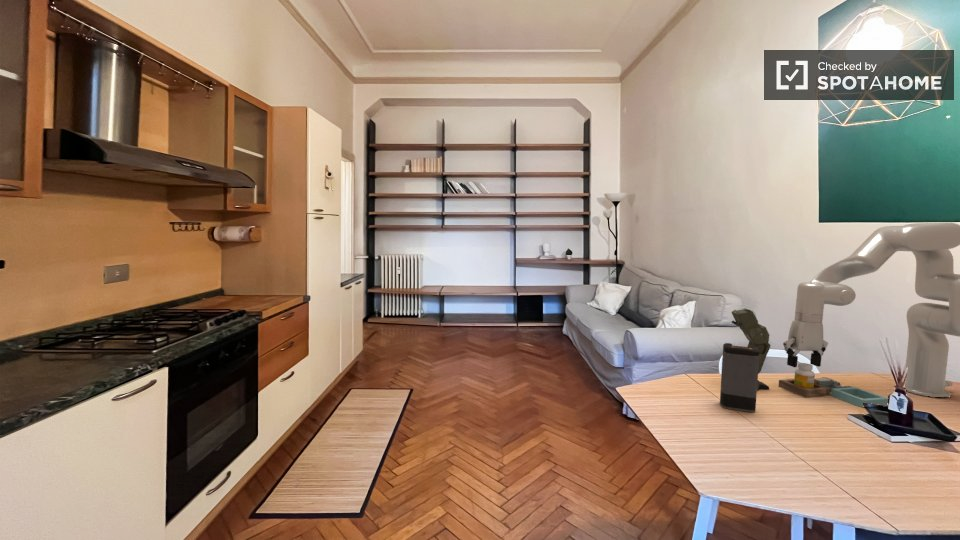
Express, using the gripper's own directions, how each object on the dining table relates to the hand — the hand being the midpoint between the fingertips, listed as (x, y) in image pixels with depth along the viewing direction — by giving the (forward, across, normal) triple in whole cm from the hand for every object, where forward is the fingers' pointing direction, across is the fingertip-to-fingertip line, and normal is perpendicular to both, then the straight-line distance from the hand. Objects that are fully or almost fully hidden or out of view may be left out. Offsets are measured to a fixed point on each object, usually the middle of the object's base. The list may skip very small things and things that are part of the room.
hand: (803, 365), depth 140 cm
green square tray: (+9, -11, +10) cm, 18 cm away
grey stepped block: (+9, -9, 0) cm, 13 cm away
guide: (+9, -12, 0) cm, 15 cm away
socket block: (+9, -1, 0) cm, 9 cm away
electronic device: (+10, +33, +8) cm, 36 cm away
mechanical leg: (+10, +15, -7) cm, 19 cm away
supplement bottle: (+9, -1, 0) cm, 9 cm away
